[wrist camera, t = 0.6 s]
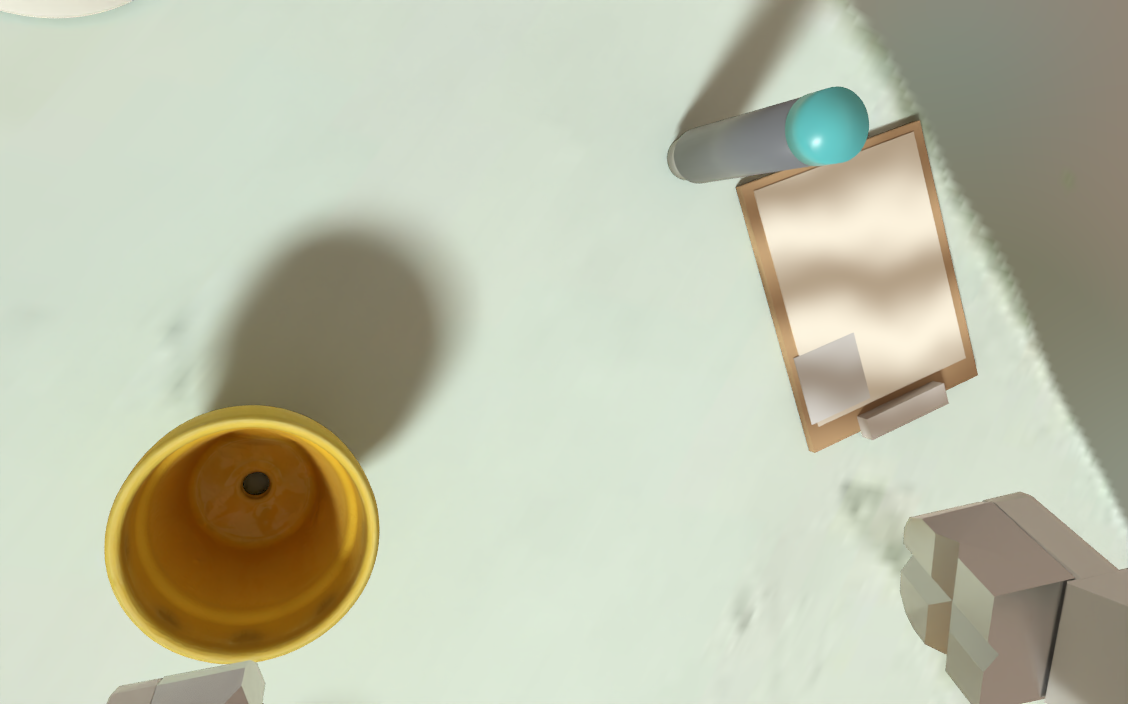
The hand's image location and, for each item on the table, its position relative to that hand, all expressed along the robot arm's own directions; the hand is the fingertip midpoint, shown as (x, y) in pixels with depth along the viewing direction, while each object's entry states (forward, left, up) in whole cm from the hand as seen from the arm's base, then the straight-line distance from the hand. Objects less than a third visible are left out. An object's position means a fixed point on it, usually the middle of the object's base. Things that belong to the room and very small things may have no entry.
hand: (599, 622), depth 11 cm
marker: (-3, +21, -36) cm, 42 cm away
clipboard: (+8, +30, -36) cm, 47 cm away
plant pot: (+5, -7, -36) cm, 37 cm away
